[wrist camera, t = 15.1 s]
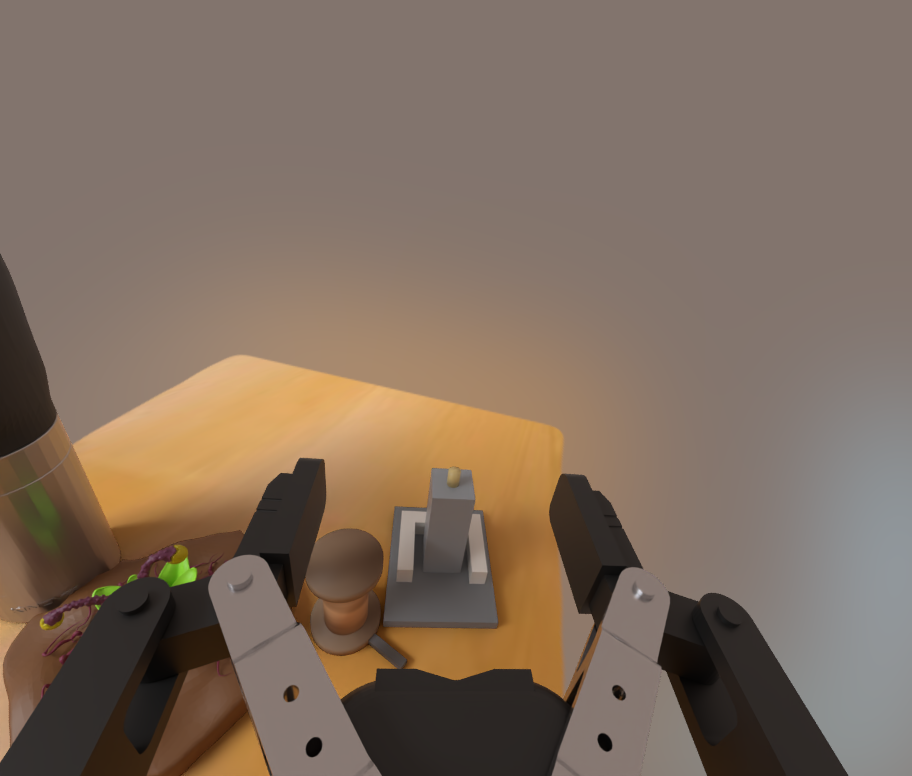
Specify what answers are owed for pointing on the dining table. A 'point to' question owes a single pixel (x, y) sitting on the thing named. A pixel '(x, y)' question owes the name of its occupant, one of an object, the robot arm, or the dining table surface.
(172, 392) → the dining table surface
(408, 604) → the grey u-shaped stand base
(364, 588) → the bobbin
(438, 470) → the gray block with knob
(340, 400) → the dining table surface
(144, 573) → the plant
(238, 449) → the dining table surface
